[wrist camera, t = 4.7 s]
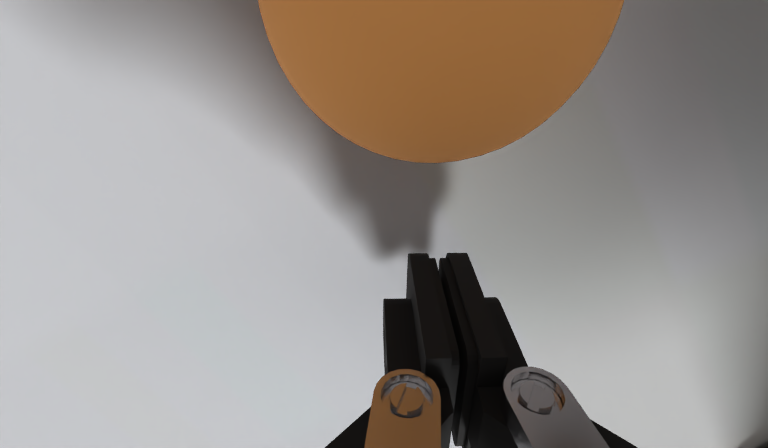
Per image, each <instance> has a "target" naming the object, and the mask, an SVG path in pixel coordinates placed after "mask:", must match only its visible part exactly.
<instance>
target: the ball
mask: <svg viewBox="0 0 768 448" xmlns="http://www.w3.org/2000/svg"><path fill="white" fill-rule="evenodd" d="M623 2H624V0H258V3H259V9H260V13H261V16H262V19H263V23H264V26H265V30H266V33H267V36H268V39H269V42H270V44H271V46H272V49H273V51H274V53H275V56H276V58H277V61H278V63H279V65H280V66H281V68H282V70H283V72H284V73H285V75H286V77H287V79H288V80H289V82H290V84H291V85H292V86H293V88H294V89H295V91H296V92H297V93H298V95H299V96H300V97H301V99H302V100H303V101H304V103H305V104H306V105H307V106H308V107H309V108H310V109H311V110H312V111H313V112H314V113H315V114H316V115H317V116H318V117H319V118H320V119H321V120H322V121H323V122H325V123H326V124H327V125H328V126H329V127H331V128H332V129H333V130H334V131H336V132H337V133H338V134H340V135H342V136H343V137H345V138H346V139H348V140H350V141H351V142H353V143H354V144H356V145H358V146H361V147H363V148H365V149H367V150H370V151H372V152H374V153H377V154H380V155H383V156H387V157H390V158H393V159H398V160H404V161H410V162H418V163H442V162H452V161H459V160H464V159H468V158H472V157H477V156H481V155H484V154H486V153H489V152H492V151H494V150H497V149H500V148H502V147H504V146H506V145H508V144H510V143H512V142H514V141H516V140H518V139H520V138H522V137H523V136H525V135H526V134H528V133H529V132H531V131H532V130H534V129H535V128H537V127H538V126H539V125H541V124H542V123H543V122H544V121H546V120H547V119H548V118H549V117H550V116H551V115H553V114H554V113H555V112H556V111H557V110H558V109H559V108H560V107H561V106H562V105H563V104H564V103H565V102H566V101H567V100H568V99H569V98H570V97H571V95H572V94H573V93H574V92H575V91H576V90H577V89H578V88H579V87H580V86H581V84H582V83H583V81H584V80H585V79H586V77H587V76H588V75H589V73H590V72H591V70H592V69H593V68H594V66H595V65H596V63H597V61H598V59H599V58H600V56H601V54H602V52H603V51H604V49H605V47H606V45H607V43H608V41H609V39H610V37H611V34H612V32H613V30H614V27H615V25H616V23H617V20H618V18H619V15H620V12H621V9H622V6H623Z"/></svg>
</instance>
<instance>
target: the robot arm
mask: <svg viewBox="0 0 768 448" xmlns="http://www.w3.org/2000/svg"><path fill="white" fill-rule="evenodd" d="M383 340H384V367H385V375H384V376H383V377H382V378H381V379H380V380H379V381H378V383H377V384H376V387H375V390H374V393H373V399H372V405H371V407H370V408H369V409H368V410H367V411H366V412H364V413H363V414H362V415H361V416H360V417H359V418H358V419H357V420H355V421H354V422H353V423H352V424H351V425H350V426H349V427H348V428H346V429H345V430H344V431H343V432H342V433H341V434H340V435H339V436H337V437H336V438H335V439H334V440H333V441H332V442H331V443H330V444H328V445H327V446H326V447H325V448H449V444H450V437H451V431H452V436H453V441H454V444H455V446H462V448H637V447H636V446H634V445H632V444H631V443H629V442H627V441H626V440H624V439H622V438H621V437H619V436H617V435H616V434H614V433H612V432H611V431H609V430H607V429H606V428H604V427H602V426H600V425H599V424H597V423H595V422H594V421H592V420H590V419H589V417H588V416H587V414H586V413H585V412H584V410H583V409H582V407H581V406H580V404H579V403H578V402H577V400H576V399H575V397H574V396H573V394H572V393H571V391H570V390H569V389H568V387H567V386H566V385H565V384H564V383H563V382H562V381H561V380H560V379H559V378H558V377H556V376H555V375H553V374H552V373H550V372H548V371H545V370H543V369H540V368H536V367H528V365H527V363H526V361H525V358H524V356H523V354H522V351H521V349H520V347H519V345H518V342H517V340H516V338H515V335H514V333H513V331H512V329H511V326H510V324H509V322H508V319H507V317H506V315H505V312H504V310H503V308H502V306H501V303H500V301H499V300H498V298H496V297H488V298H484V295H483V292H482V290H481V287H480V285H479V282H478V280H477V277H476V275H475V272H474V269H473V267H472V264H471V262H470V259H469V257H468V254H467V253H447V255H446V258H440V261H439V271H438V267H437V263H436V260H435V258H429V256H428V254H427V253H414V254H408V268H407V292H406V299H384V302H383Z"/></svg>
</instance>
